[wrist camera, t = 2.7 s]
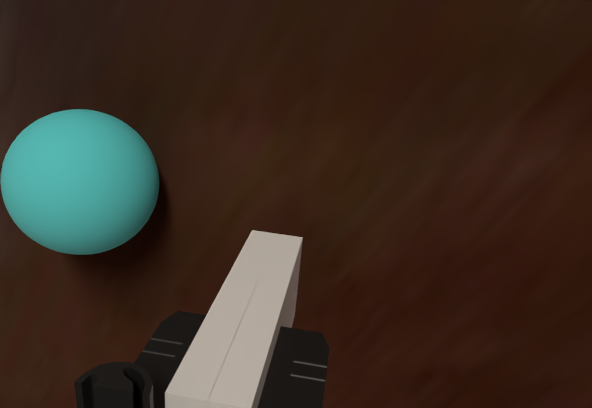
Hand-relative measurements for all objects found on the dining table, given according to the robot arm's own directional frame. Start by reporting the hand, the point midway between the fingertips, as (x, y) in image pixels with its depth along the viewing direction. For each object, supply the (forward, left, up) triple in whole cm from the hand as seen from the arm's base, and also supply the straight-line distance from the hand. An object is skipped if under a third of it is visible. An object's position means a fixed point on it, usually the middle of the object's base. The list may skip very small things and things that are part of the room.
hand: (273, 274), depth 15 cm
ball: (+9, 0, -5) cm, 10 cm away
